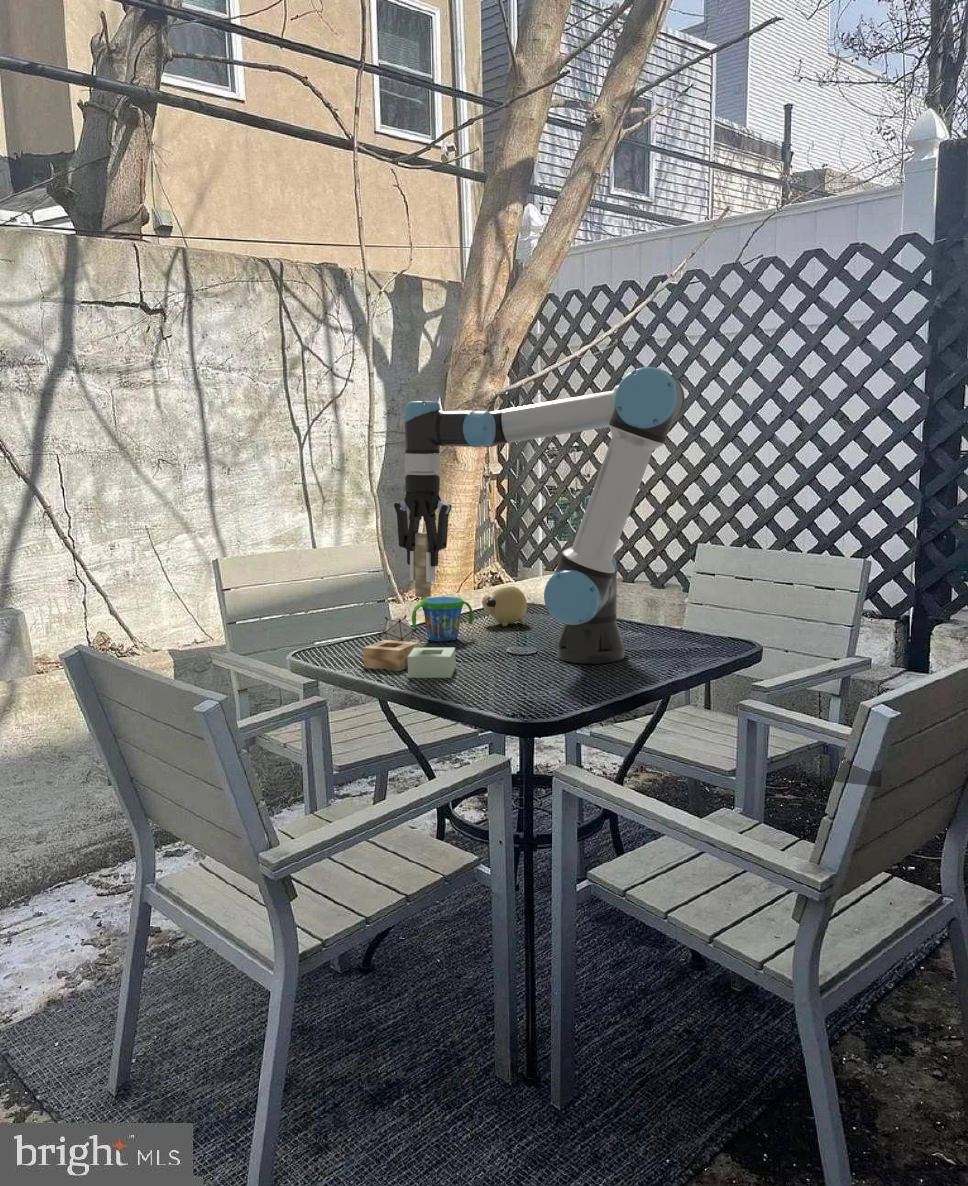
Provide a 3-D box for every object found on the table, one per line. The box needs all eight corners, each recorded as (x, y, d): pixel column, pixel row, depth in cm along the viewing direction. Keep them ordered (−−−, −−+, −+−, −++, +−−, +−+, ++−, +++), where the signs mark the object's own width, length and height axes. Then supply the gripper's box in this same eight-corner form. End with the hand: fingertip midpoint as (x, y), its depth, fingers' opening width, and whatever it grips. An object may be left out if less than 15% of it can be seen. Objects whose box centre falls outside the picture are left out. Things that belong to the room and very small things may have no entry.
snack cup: (469, 633, 239) (468, 594, 238) (478, 641, 229) (477, 601, 227) (409, 637, 236) (408, 598, 234) (416, 645, 225) (414, 604, 224)
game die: (403, 665, 221) (408, 637, 214) (371, 652, 222) (375, 624, 215) (418, 641, 227) (423, 613, 220) (387, 628, 228) (391, 600, 221)
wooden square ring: (419, 662, 208) (418, 642, 207) (399, 670, 199) (398, 650, 199) (384, 659, 211) (384, 639, 211) (363, 667, 203) (363, 647, 202)
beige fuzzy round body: (480, 622, 254) (479, 584, 252) (523, 620, 256) (522, 582, 254) (485, 629, 244) (484, 589, 243) (530, 627, 246) (529, 587, 244)
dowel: (433, 595, 206) (433, 532, 204) (425, 597, 203) (425, 534, 201) (420, 594, 208) (419, 532, 205) (412, 596, 205) (412, 533, 202)
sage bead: (455, 667, 201) (455, 647, 201) (450, 677, 192) (450, 656, 192) (414, 667, 202) (414, 647, 201) (408, 677, 193) (407, 656, 192)
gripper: (463, 474, 201) (463, 580, 205) (399, 472, 208) (399, 575, 212) (447, 475, 194) (447, 585, 198) (381, 473, 201) (382, 579, 205)
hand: (422, 580), depth 205 cm, fingers closed on dowel, 3 cm apart
